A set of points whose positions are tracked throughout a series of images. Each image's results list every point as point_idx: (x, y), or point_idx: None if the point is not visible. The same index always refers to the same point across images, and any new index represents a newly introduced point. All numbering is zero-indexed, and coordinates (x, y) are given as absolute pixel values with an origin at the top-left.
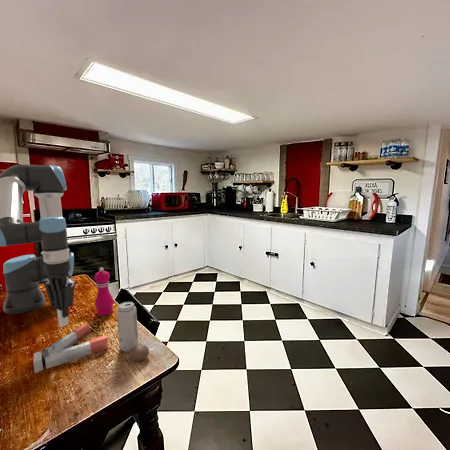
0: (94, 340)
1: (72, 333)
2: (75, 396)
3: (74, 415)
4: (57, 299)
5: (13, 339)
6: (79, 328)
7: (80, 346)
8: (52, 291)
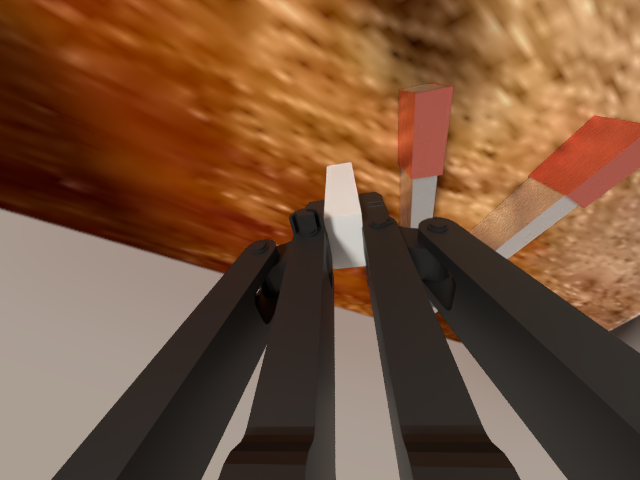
0: (596, 187)
1: (425, 188)
2: (588, 294)
3: (613, 315)
4: (331, 327)
5: (185, 246)
6: (432, 148)
7: (539, 231)
8: (210, 405)
